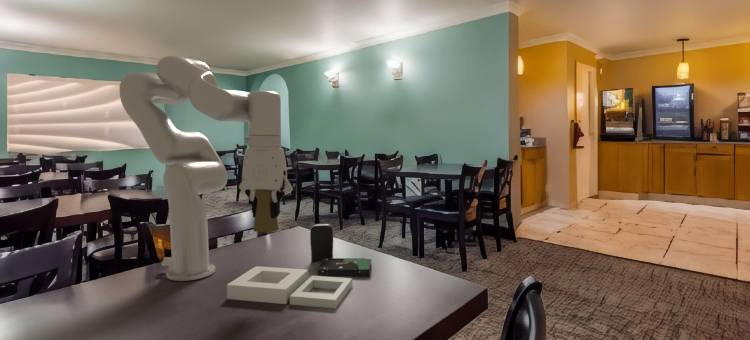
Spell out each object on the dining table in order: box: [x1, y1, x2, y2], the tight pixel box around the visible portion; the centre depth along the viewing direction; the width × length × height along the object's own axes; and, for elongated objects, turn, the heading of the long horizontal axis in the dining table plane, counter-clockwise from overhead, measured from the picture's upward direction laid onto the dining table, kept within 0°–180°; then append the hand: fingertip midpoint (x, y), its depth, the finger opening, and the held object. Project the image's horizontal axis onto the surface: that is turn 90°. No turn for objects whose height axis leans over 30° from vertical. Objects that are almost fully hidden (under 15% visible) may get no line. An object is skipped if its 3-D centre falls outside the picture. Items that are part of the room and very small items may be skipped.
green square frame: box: [289, 275, 353, 310], centre depth 100 cm, size 11×14×2 cm
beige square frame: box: [226, 265, 309, 305], centre depth 103 cm, size 16×14×4 cm
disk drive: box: [316, 257, 372, 278], centre depth 118 cm, size 10×3×15 cm
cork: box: [253, 190, 279, 233], centre depth 102 cm, size 6×6×11 cm
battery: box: [309, 223, 334, 263], centre depth 127 cm, size 7×4×11 cm, turn 99°
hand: (265, 216), depth 102 cm, fingers closed on cork, 4 cm apart
